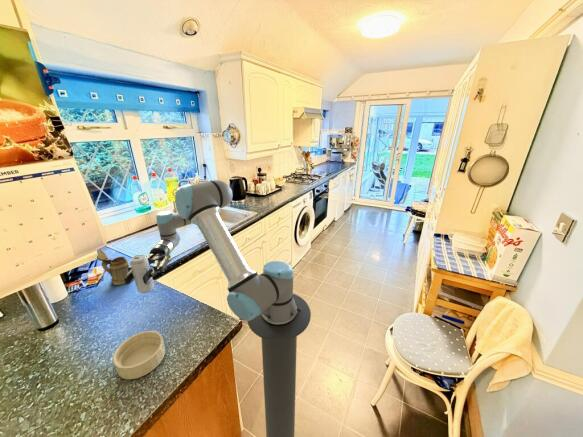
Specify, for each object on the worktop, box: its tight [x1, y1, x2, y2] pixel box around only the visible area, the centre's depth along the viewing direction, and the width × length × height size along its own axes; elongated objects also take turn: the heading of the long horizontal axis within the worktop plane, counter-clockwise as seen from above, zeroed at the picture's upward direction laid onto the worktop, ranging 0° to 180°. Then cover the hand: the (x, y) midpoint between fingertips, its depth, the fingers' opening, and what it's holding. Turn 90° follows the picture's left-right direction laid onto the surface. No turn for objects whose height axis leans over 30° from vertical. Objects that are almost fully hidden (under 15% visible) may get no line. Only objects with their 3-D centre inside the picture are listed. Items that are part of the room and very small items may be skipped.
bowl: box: [112, 330, 166, 380], centre depth 74 cm, size 13×13×6 cm
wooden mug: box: [96, 249, 134, 286], centre depth 110 cm, size 9×14×18 cm, turn 105°
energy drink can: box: [129, 254, 155, 294], centre depth 94 cm, size 6×6×15 cm
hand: (135, 280), depth 89 cm, fingers closed on energy drink can, 6 cm apart
